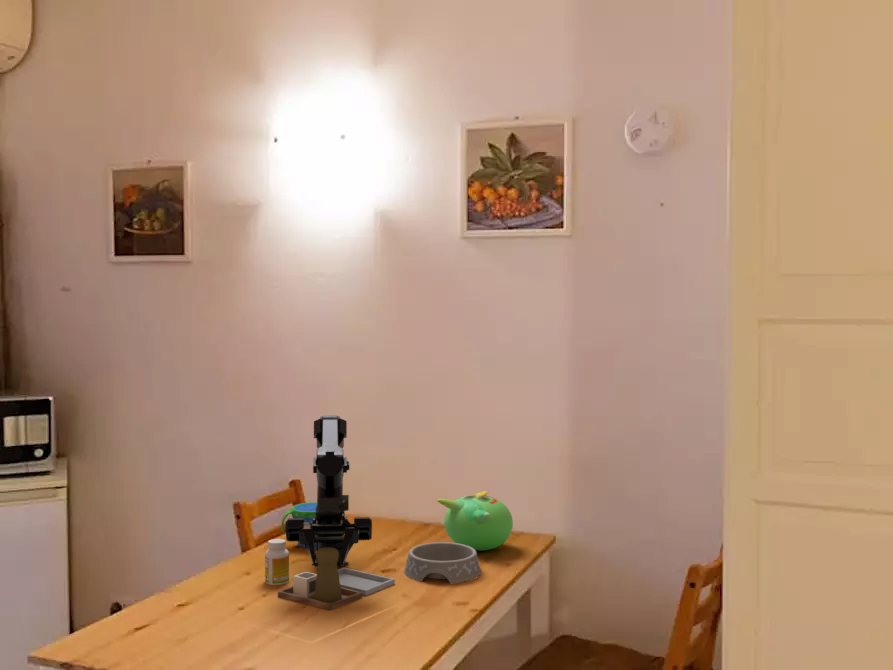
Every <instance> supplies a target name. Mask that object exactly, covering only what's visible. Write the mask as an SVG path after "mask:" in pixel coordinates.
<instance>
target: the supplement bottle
mask: <svg viewBox="0 0 893 670" xmlns="http://www.w3.org/2000/svg"><path fill="white" fill-rule="evenodd" d="M286 541H287V540H286V539H283V538H272V539H270V540H268V542H267V548H268V549H267V550H266V551H265V553H264V577H265V578H264V580H265V581H264V583H265V584H268V585H272V586H277V585H278V586H279V585H285V584H288V583H289V581H290V552H289V550H288V549H287V548H286V547H287V546H286V545H287V542H286Z"/></svg>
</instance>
